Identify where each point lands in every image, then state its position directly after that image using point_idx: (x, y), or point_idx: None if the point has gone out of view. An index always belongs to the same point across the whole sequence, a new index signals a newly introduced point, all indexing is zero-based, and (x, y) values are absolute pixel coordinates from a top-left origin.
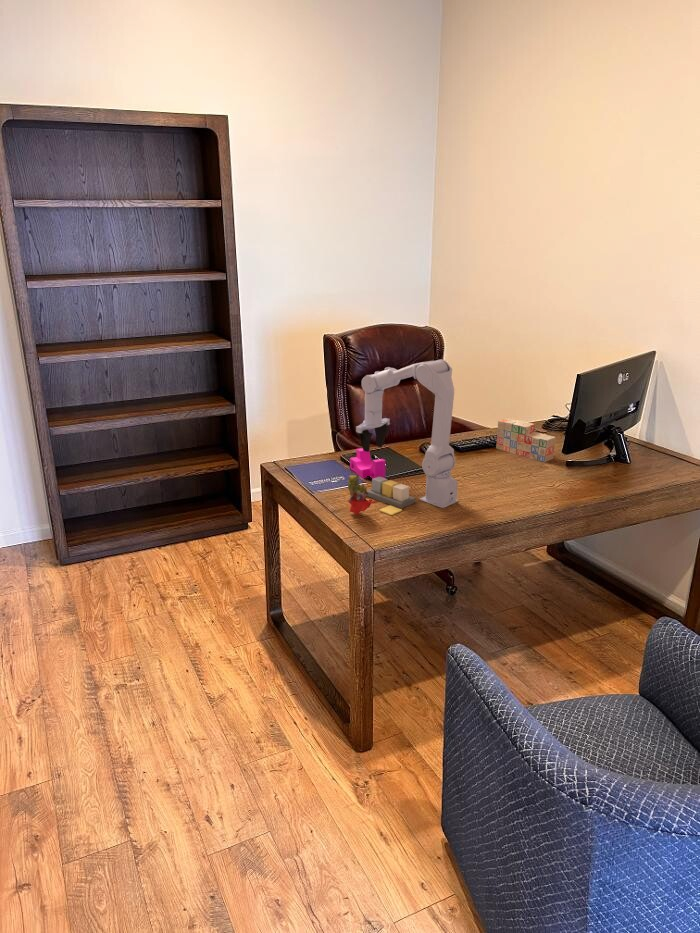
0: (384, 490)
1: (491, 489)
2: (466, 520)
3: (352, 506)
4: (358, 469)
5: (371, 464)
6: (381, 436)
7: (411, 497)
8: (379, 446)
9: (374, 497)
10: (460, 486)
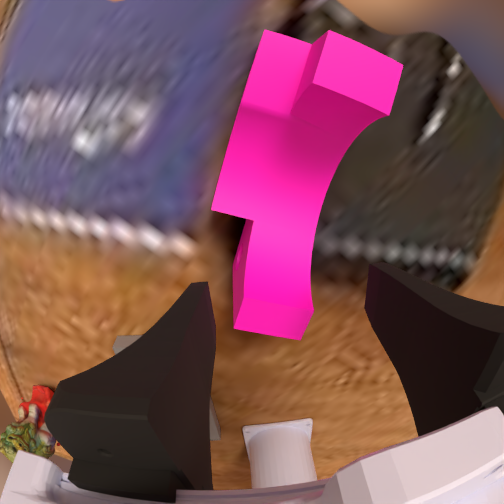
0: None
1: (409, 432)
2: (241, 485)
3: (37, 392)
4: (226, 151)
5: (325, 162)
6: (409, 371)
7: (213, 436)
8: (367, 296)
9: None
10: (394, 408)
